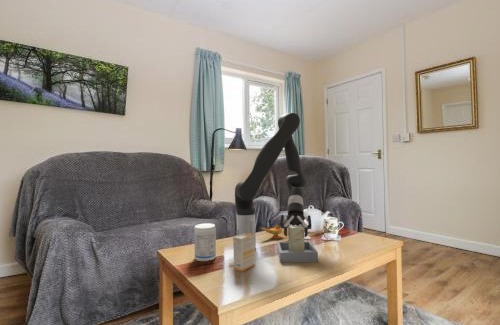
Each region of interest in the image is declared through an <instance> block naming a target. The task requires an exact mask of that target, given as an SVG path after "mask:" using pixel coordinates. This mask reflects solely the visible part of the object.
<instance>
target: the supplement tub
mask: <svg viewBox="0 0 500 325" xmlns="http://www.w3.org/2000/svg"><path fill="white" fill-rule="evenodd" d="M193 230H194V231H193V233H194V234H193V235H194V240H193V241H194V258H195V260H196V261H199V262H210V261H212V260H214V259H215V258H217V242H216V240H217V239H216V237H217V232H216V224H214V223H210V222H209V223H208V222H207V223H199V224H195V225H194V229H193ZM209 260H210V261H209Z"/></svg>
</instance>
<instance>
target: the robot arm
mask: <svg viewBox="0 0 500 325" xmlns="http://www.w3.org/2000/svg"><path fill="white" fill-rule="evenodd" d="M300 119H301V118H300V116H299V115H298V113H295V112H288V113H284V114H282V115H280V116H279V117H278V119H277V126H278V127H277V128H278V130H277V132H276V133H275V134H274V135H273V136H272V137H271V138H269V140H268V141H267V142H266V143H265V144H264V145H263V146H262V147H261V150H260V151H259V153H258V154H257V156H256V158H255V161H254V164H253V167H252V170H251V172H250V173H249V175H248V177H247V178H246V179H245V180H242V181H239V182H237V184H236V185H235V188H234V203H235V210H236V232H235V233H236V236H237V235H240V234H243V233H251V234H254V250H256V249H257V248H256V246H257V243H256V242H257V241H256V240H257V237H256V208H255V205H254V201H253V199H254V198H255V197H256V196H257V193H258V191H259V189H260V187H261V185H262V183H263V181H264V180H265V178H266V177H267V175H268V173H269V172H270V171H271V169H272V168H273V165H274V164H275V163H276V161H277V159H278V158H279V156H280V155H281V153H282V151H283V149H284V153H285V154H284V155H285V161H286V162H285V163H286V168H287V170H288V171H290V172H296V173H297V174H290V175H287V176H286V177H285V184H286V187H287V190H288V200H287V215H284V214H281V215H280V221H279V222H280V224H279V226H280V227H279V228H280V229H282V228H283V229H282V230H283V235H284V236H285V237H288V226H297V225H301V226H303V227H304V238H307V237H308V235H309V233H308V232H309V230H311V229H312V219H311V215H307V216H305V215H304V212H305V211H304V209H305V208H304V199H303V196H304V195H303V190H302V188H304V187H305V186H306V184H307V179H306V177H305V175H304V173H303V170H302V166H301V159H300V154H299V151H298V148H297V146H296V143H295V141H294V138H293V135H294V133H295V132H296V131H297V129H298V128H299V126H300V123H301V120H300ZM285 221H286V222H285ZM305 221H306V222H307V224H306V222H305Z"/></svg>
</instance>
